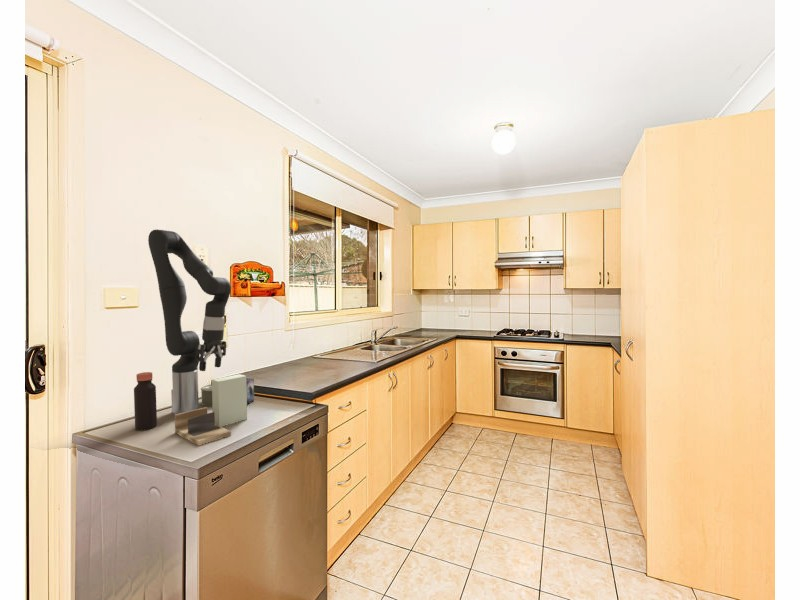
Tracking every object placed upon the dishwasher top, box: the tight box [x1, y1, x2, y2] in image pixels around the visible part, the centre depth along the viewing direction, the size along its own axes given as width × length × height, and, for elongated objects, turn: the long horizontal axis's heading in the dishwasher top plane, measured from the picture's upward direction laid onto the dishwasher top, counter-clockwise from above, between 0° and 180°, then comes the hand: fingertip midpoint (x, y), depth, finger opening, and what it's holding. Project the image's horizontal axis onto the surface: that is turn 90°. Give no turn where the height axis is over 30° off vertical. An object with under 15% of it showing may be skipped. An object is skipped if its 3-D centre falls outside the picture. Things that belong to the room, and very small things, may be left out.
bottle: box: [133, 371, 158, 431], centre depth 145 cm, size 7×7×20 cm
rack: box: [174, 406, 232, 446], centre depth 139 cm, size 18×11×6 cm, turn 51°
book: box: [211, 373, 248, 427], centre depth 151 cm, size 5×11×17 cm, turn 141°
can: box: [200, 384, 212, 407], centre depth 176 cm, size 12×12×7 cm
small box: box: [246, 377, 255, 405], centre depth 173 cm, size 11×6×10 cm, turn 168°
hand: (210, 368), depth 155 cm, fingers open, 8 cm apart
